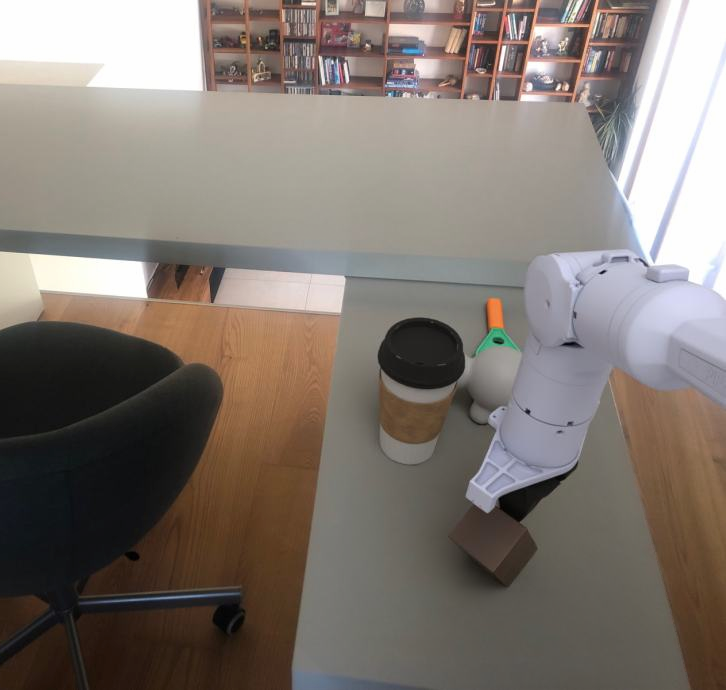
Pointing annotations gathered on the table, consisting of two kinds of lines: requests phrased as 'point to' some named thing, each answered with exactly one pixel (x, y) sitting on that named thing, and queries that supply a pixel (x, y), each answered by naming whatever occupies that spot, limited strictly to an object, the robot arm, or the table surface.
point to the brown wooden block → (495, 542)
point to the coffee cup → (417, 386)
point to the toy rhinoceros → (490, 380)
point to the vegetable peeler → (495, 327)
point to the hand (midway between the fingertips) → (513, 511)
